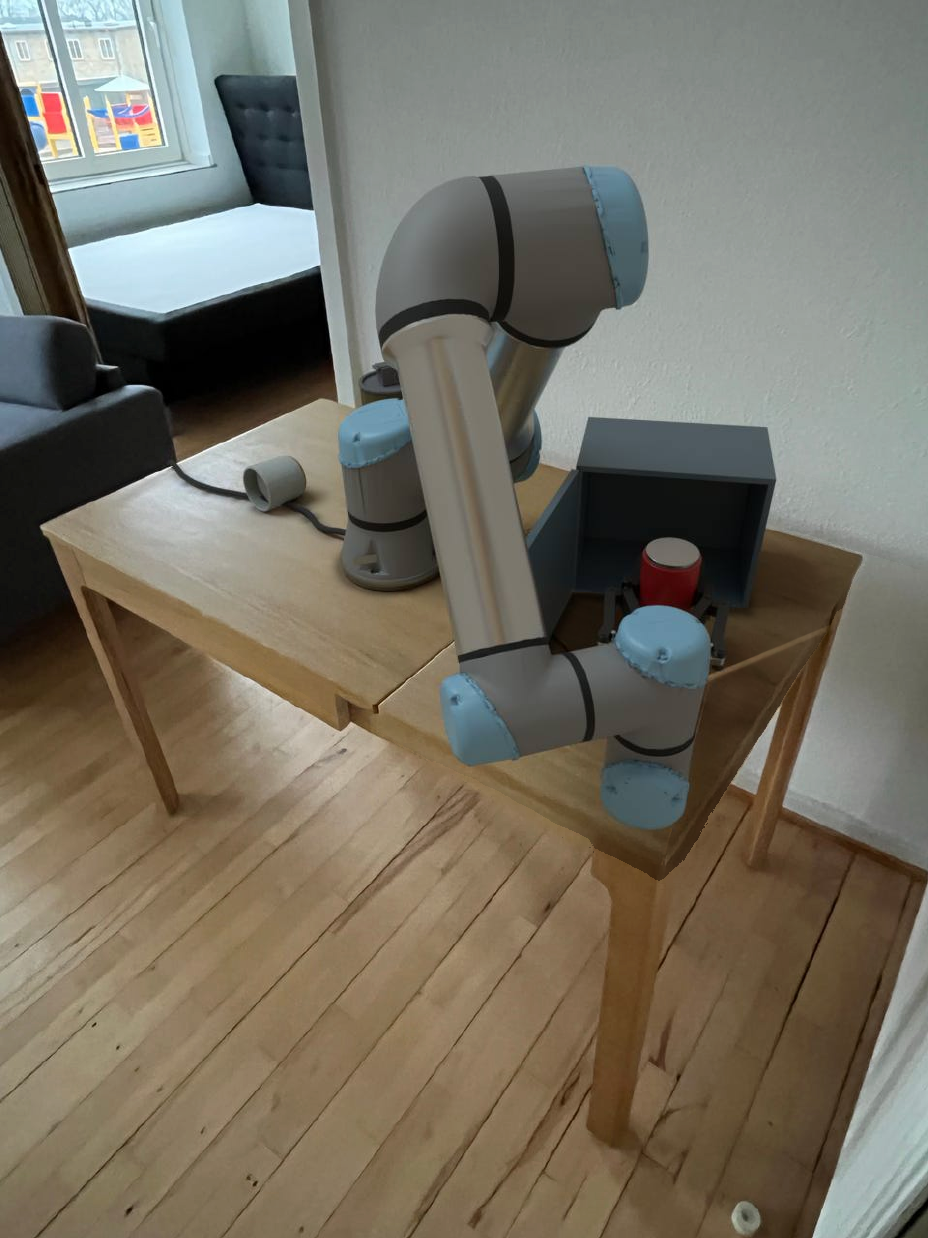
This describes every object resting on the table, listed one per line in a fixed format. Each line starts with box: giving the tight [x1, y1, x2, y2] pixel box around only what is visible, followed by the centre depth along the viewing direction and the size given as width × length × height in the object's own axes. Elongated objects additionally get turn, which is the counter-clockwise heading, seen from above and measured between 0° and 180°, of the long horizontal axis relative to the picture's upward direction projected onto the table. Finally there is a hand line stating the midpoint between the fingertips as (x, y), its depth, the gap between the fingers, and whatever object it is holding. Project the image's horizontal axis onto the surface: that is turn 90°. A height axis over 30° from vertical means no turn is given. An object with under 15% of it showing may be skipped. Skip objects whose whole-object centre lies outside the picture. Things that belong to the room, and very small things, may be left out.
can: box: [637, 538, 702, 614], centre depth 96 cm, size 7×7×12 cm
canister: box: [357, 361, 403, 407], centre depth 136 cm, size 11×10×20 cm
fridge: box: [572, 416, 777, 609], centre depth 110 cm, size 15×24×20 cm, turn 77°
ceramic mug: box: [242, 455, 307, 512], centre depth 135 cm, size 11×8×8 cm
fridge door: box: [525, 468, 579, 643], centre depth 98 cm, size 6×24×19 cm, turn 157°
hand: (669, 567), depth 99 cm, fingers closed on can, 7 cm apart
